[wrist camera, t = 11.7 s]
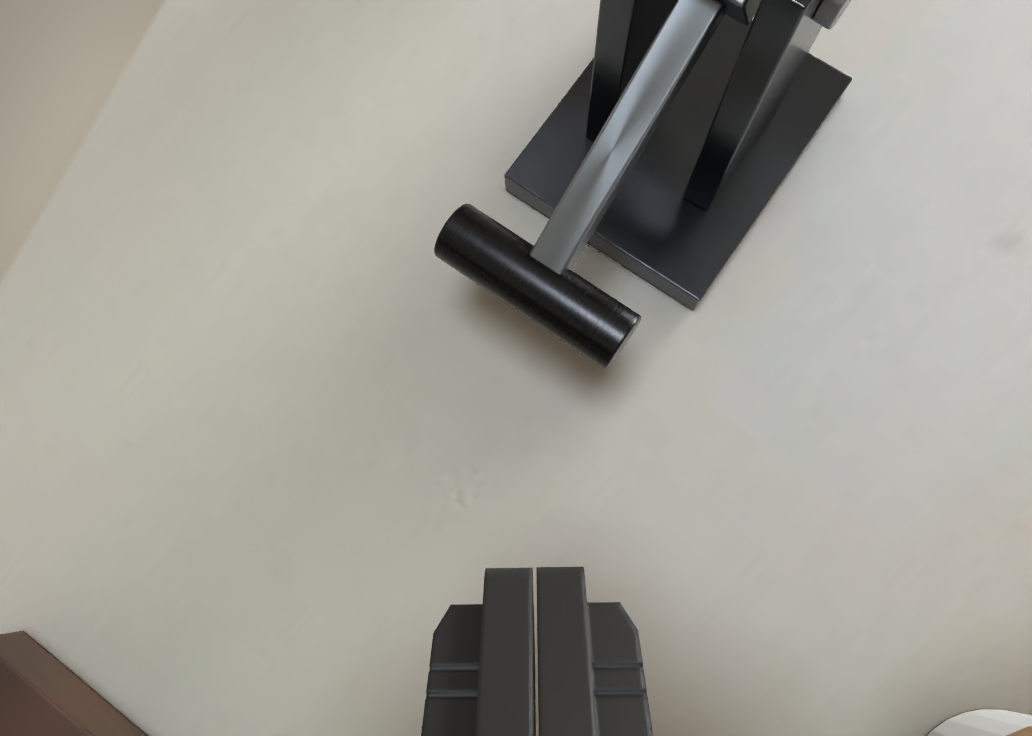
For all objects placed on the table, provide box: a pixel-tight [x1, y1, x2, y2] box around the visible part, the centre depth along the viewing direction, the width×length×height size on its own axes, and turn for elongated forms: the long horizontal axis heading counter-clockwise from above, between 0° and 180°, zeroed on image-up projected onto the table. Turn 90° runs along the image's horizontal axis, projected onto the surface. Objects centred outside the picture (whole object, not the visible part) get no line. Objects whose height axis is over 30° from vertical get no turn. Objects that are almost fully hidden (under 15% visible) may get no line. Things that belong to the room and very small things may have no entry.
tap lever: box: [434, 0, 761, 369], centre depth 21 cm, size 12×6×2 cm, turn 145°
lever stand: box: [505, 0, 852, 310], centre depth 24 cm, size 10×8×12 cm
